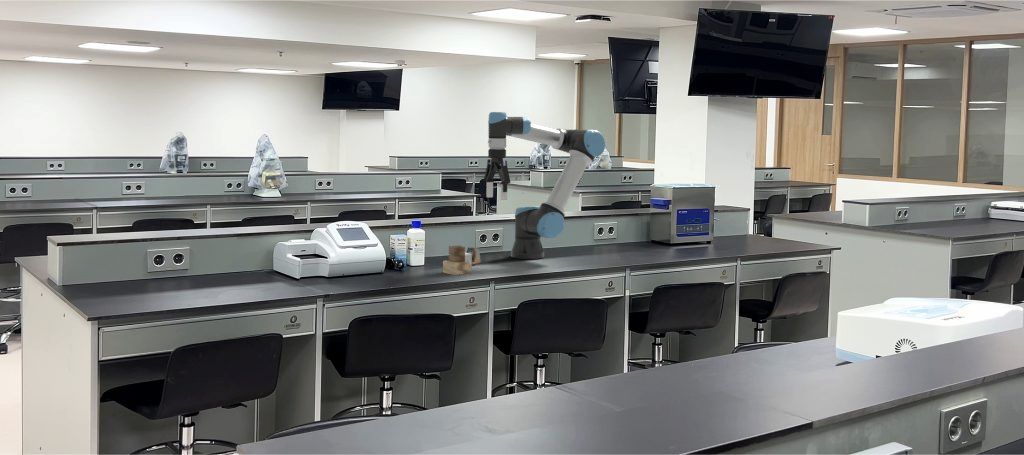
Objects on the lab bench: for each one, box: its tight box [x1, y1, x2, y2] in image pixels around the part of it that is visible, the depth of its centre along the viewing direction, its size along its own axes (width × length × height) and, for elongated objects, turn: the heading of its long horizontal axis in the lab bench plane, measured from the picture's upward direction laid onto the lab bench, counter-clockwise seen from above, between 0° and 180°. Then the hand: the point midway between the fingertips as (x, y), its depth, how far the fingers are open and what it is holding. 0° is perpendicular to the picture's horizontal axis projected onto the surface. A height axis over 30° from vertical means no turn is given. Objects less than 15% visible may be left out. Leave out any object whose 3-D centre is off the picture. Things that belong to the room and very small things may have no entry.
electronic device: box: [466, 246, 481, 267], centre depth 402 cm, size 4×10×8 cm, turn 161°
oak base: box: [442, 259, 471, 276], centre depth 380 cm, size 8×8×5 cm
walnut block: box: [448, 245, 466, 262], centre depth 380 cm, size 5×5×6 cm
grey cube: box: [465, 252, 473, 269], centre depth 393 cm, size 6×6×6 cm
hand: (496, 198), depth 397 cm, fingers open, 13 cm apart
